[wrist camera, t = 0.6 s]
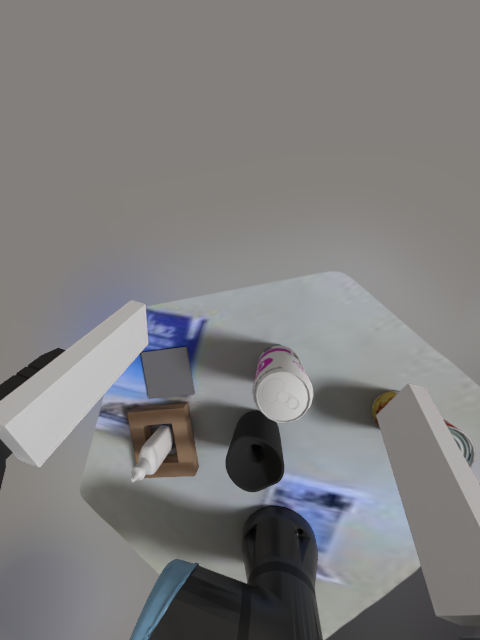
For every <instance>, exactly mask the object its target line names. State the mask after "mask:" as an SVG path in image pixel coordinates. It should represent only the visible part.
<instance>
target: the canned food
mask: <svg viewBox="0 0 480 640" xmlns="http://www.w3.org/2000/svg"><path fill="white" fill-rule="evenodd" d="M399 392H400V391H388V392H385V393H383V394H381V395H379V396H378V397H377V398H376V399H375V401H374V402H373V405H372V417H373V419H374V421H375V422H376V423H377V425H378V426H379V423H378V420H377V417H376V415H377V414H378V413H379V412H380V411H381V410H382V409H383V408H384V407H385V406H386V405H387V404H388V403H389V402H390V401H391V400H392V399H393V398H394V397H395V396H396V395H397V394H398V393H399ZM443 420H444V419H443ZM444 422H445V424H446V426H447V427H448V429H449V431H450V433H451V435H452V436H453V438H454V440H455V442H456V443H457V445H458V447H459V449H460V451H461V452H462V454H463V456H464V458H465V459H466V461H467V463H468V465H469V467H470V468H471V467H472V465H473V462H474V459H475V450H474V445H473V444H472V442H471V440H470V438H469V437H468V436H467V435H466V434H465V433H463V432H462V431H460V430H459V429H457V428H456V427H455V426H453V425H452V424H450V423H449V422H447V421H446V420H444Z"/></svg>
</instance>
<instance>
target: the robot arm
mask: <svg viewBox="0 0 480 640" xmlns="http://www.w3.org/2000/svg"><path fill="white" fill-rule="evenodd" d="M147 345H148V334H147V321H146V307H145V304H143V303H139V302H136V301H133V300H131V301H129V302H128V303H127V304H126V305H124V306H123V307H122V308H120V309H119V310H118V311H117V312H115V313H114V314H113V315H111V316H110V317H109V318H107V319H106V320H105V321H104V322H102V323H101V324H100V325H98V326H97V327H96V328H94V329H93V330H92V331H91V332H89V333H88V334H87V335H85V336H84V337H83V338H81V339H80V340H79V341H78V342H76V343H75V344H74V345H72V346H71V347H70V348H69V349H67V350H63V349H60V348H57V349H55V350H53V351H50V352H48V353H46V354H44V355H41V356H40V357H39V358H37V359H36V360H34V361H33V362H32V363H30V364H29V365H28V367H25V368H23V369H22V370H20V371H19V372H18V373H17V374H16V375H15V376H14V375H13V376H12V377H11V378H9V379H8V380H7V381H5V382H4V383H2V384H1V385H0V488H1V484H2V480H3V476H4V472H5V468H6V459H7V458H8V457H9V456H10V455H11V454H12V453H13V454H14V455H15V456H16V457H17V458H18V459H19V460H20V461H22V462H25V463H28V464H30V465H33V466H36V467H38V468H40V466H41V465H42V464H43V463H44V462H45V461H46V460H47V458H48V457H49V456H50V455H51V454H52V453H53V452H54V451H55V449H56V448H57V447H58V446H59V445H60V444H61V443H62V441H63V440H64V439H65V438H66V437H67V436H68V434H69V433H70V432H71V431H72V430H73V429H74V427H76V425H77V424H78V423H79V422H80V421H81V420H82V419H83V418H84V416H85V415H86V414H87V413H88V412H89V411H90V410H91V408H92V407H93V406H94V405H95V404H96V403H97V401H98V400H99V399H100V398H101V397H102V396H103V395H104V394H105V392H106V391H107V390H108V389H109V388H110V387H111V386H112V385H113V383H114V382H115V381H116V380H117V379H118V378H119V377H120V375H121V374H122V373H123V372H124V371H125V370H126V369H127V367H128V366H129V365H130V364H131V363H132V362H133V361H134V359H135V358H136V357H137V356H138V355H139V354H140V353H141V352H142V350H143V349H144V348H145V347H146V346H147ZM376 417H377V420H378V423H379V427H380V430H381V433H382V437H383V440H384V443H385V447H386V450H387V453H388V457H389V460H390V463H391V467H392V470H393V473H394V477H395V480H396V484H397V487H398V490H399V494H400V497H401V500H402V504H403V507H404V510H405V514H406V517H407V520H408V524H409V527H410V530H411V534H412V537H413V540H414V544H415V547H416V550H417V554H418V557H419V561H420V564H421V567H422V571H423V574H424V577H425V581H426V584H427V587H428V591H429V594H430V597H431V601H432V604H433V607H434V611H435V614H436V616H438V617H440V618H443V619H446V620H448V621H451V622H454V623H456V624H459V625H462V626H480V484H479V483H478V481H477V479H476V477H475V476H474V474H473V472H472V470H471V468H470V467H469V465H468V463H467V461H466V459H465V458H464V456H463V454H462V452H461V451H460V449H459V447H458V445H457V443H456V442H455V440H454V438H453V436H452V435H451V433H450V431H449V429H448V427H447V426H446V424H445V422H444V420H443V418H442V417H441V415H440V413H439V411H438V410H437V408H436V406H435V404H434V402H433V401H432V399H431V397H430V395H429V393H428V392H427V390H426V388H424V387H421V386H417V385H414V384H411V383H408V384H407V385H406V386H405V387H404V388H403V389H402V390H401V391H400V392H399V393H398V394H397V395H396V396H395V397H394V398H393V399H392V400H391V401H390V402H389V403H388V404H387V405H386V406H385V407H384V408H383V409H382V410H381V411H380V412H379V413H378V414H377V415H376ZM242 553H243V559H244V564H245V570H246V576H247V584H246V583H243V582H241V581H238V580H236V579H233V578H230V577H227V576H225V575H222V574H219V573H216V572H214V571H211V570H209V569H206V568H203V567H201V566H199V564H198V563H194V564H193V563H190V562H187V561H183V560H180V559H175V560H172V561H171V562H170V563H168V564H167V565H166V567H165V568H164V569H163V571H162V573H161V574H160V576H159V578H158V580H157V581H156V583H155V585H154V587H153V589H152V591H151V593H150V595H149V597H148V599H147V601H146V603H145V606H144V608H143V610H142V612H141V614H140V617H139V619H138V621H137V623H136V626H135V628H134V630H133V633H132V635H131V638H130V640H323V639H322V632H321V626H320V620H319V614H318V608H317V602H316V596H315V580H316V571H317V562H318V550H317V544H316V539H315V535H314V532H313V530H312V528H311V526H310V525H309V524H308V522H307V521H306V520H305V519H304V518H303V517H302V516H300V515H299V514H297V513H296V512H294V511H292V510H290V509H287V508H283V507H266V508H263V509H260V510H258V511H256V512H255V513H253V514H252V515H251V516H250V517H249V519H248V520H247V522H246V523H245V526H244V529H243V537H242ZM459 640H480V637H460V638H459Z"/></svg>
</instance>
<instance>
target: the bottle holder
mask: <svg viewBox="0 0 480 640" xmlns="http://www.w3.org/2000/svg"><path fill="white" fill-rule="evenodd" d="M127 415H128V420H129V426H130V431H131V437H132V442H133V447H134V453H135V458H136V464H137V463H138V462H139V454H140V451H141V448H142V446H143V445H144V444H145V443H146V442H147V440H148V439H149V438H150V437H151V436H152V432H151V426H150V425H156V424H169V423H172V427H173V433H174V438H175V444H176V450H177V455H167V456H166V458H165V459H164V461H163V462H162V464H161V465H160V467H159V468H158V469H157V471H156V472H155V473H154V474H152V475H145V477H144V478H154V477H178V476H195V475H196V472H197V470H198V468H199V465H198V459H197V453H196V447H195V441H194V435H193V429H192V423H191V417H190V411H189V405H188V402H186V403H174V404H163V405H152V406H141V407H134V408H132V409H131V410H130V411H129V412H127Z"/></svg>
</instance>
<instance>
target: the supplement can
mask: <svg viewBox="0 0 480 640" xmlns="http://www.w3.org/2000/svg"><path fill="white" fill-rule="evenodd" d="M252 391H253V397H254V401H255V403H256V405H257V407H258V409H259V410H260V411H261V412H262V413H263V414H264V415H265V416H267V417H268V418H269V419H271V420H273V421H275V422H279V423H290V422H294V421H296V420H298V419H299V418H301V417H302V416H304V414H305V413H306V411H307V410H308V409H309V407H310V406H311V403H312V399H313V388H312V384H311V382H310V380H309V378H308V376H307V374H306V372H305V370H304V368H303V366H302V364H301V362H300V360H299V358H298V357H297V355H296V353H295V352H293V351H292V350H291V349H290V348H287V347H285V346H272V347H269V348H267V349H266V350H265V351H263V352H262V354H261V356H260V357H259V360H258V365H257V370H256V375H255V380H254V385H253V390H252Z"/></svg>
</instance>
